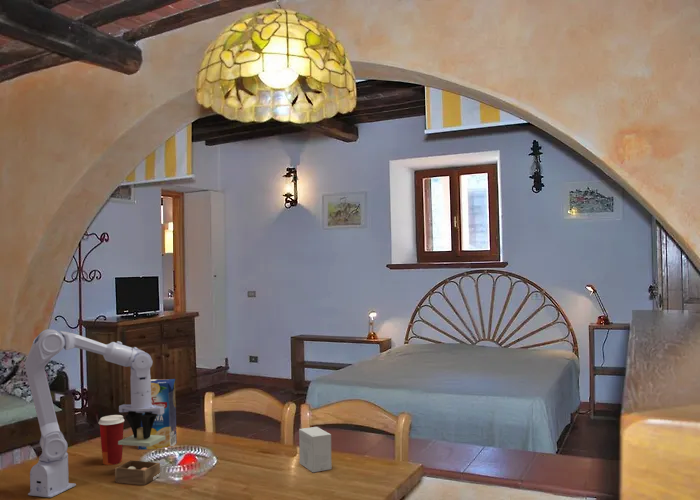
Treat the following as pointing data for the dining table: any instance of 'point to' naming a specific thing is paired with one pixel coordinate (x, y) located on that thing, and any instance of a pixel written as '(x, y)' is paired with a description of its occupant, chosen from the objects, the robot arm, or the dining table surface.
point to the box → (136, 472)
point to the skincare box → (315, 449)
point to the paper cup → (111, 438)
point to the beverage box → (167, 421)
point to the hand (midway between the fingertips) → (142, 437)
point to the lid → (141, 439)
